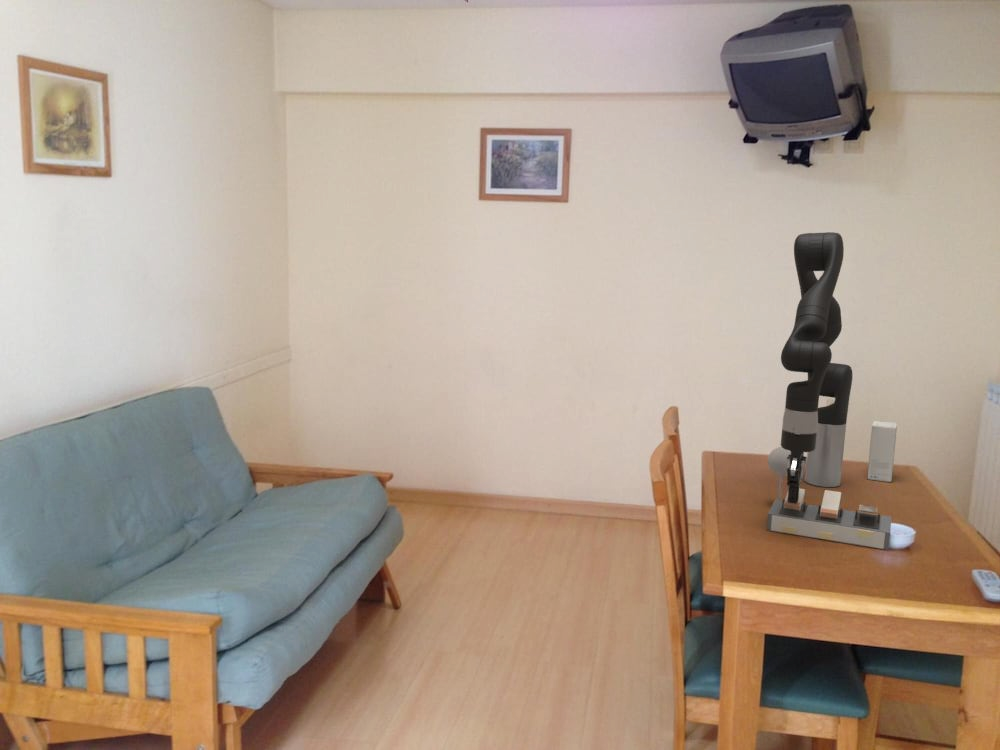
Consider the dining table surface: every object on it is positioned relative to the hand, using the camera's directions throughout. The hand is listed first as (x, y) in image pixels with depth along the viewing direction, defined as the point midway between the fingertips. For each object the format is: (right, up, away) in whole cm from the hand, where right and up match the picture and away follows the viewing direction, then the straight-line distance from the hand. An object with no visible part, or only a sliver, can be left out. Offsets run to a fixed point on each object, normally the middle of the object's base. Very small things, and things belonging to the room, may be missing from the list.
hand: (792, 501), depth 208 cm
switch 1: (+1, 0, +3) cm, 3 cm away
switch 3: (+16, -2, -3) cm, 16 cm away
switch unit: (+9, -7, +1) cm, 11 cm away
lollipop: (+3, -4, +20) cm, 20 cm away
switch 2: (+9, -1, 0) cm, 9 cm away
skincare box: (+40, 0, +48) cm, 62 cm away
